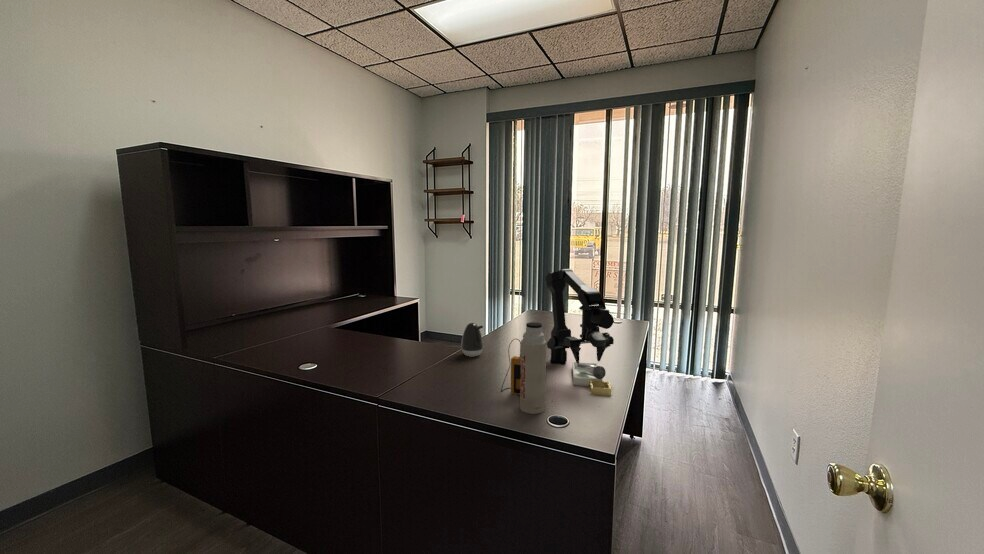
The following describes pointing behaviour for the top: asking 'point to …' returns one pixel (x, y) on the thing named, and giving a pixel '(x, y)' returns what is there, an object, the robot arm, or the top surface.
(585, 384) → the tray
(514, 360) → the multimeter
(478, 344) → the pump dispenser
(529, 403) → the thermos bottle
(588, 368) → the strut
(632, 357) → the top surface
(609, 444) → the top surface
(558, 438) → the top surface
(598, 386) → the socket collar
